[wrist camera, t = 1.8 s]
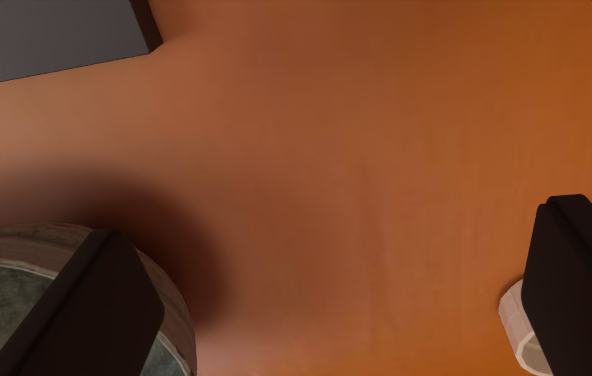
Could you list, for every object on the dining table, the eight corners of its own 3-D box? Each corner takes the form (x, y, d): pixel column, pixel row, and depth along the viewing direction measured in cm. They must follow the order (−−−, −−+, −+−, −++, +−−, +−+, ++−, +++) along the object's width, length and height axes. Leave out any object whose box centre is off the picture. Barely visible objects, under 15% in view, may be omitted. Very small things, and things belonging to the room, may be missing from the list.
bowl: (-47, 273, 37) (-159, 380, 28) (22, 105, 26) (-123, 197, 18) (159, 371, 43) (116, 483, 34) (280, 267, 32) (260, 390, 24)
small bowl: (485, 283, 31) (504, 334, 28) (583, 254, 29) (618, 306, 25) (510, 334, 34) (531, 386, 31) (601, 312, 32) (635, 365, 28)
